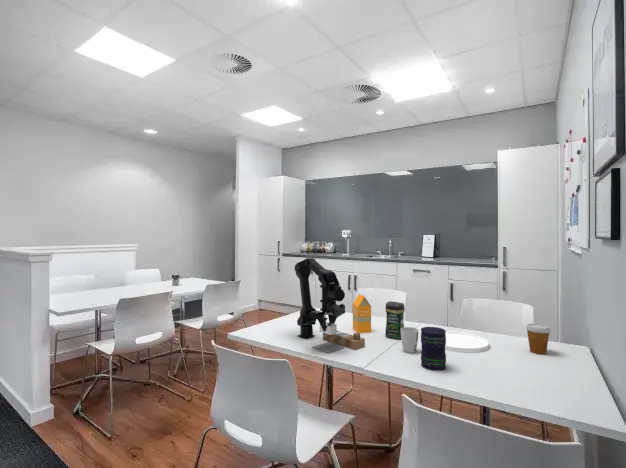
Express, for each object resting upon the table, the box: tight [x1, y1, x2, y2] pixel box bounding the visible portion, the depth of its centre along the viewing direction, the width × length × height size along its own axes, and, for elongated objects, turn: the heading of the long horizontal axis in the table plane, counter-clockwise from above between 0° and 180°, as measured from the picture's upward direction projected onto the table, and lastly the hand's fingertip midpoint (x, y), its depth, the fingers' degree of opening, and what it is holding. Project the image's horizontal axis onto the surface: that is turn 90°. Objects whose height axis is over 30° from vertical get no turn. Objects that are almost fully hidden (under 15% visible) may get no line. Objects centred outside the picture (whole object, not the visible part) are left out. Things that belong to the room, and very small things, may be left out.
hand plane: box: [322, 330, 366, 351], centre depth 176 cm, size 22×7×6 cm, turn 42°
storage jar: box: [420, 326, 447, 372], centre depth 145 cm, size 10×10×15 cm
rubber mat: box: [311, 341, 345, 354], centre depth 169 cm, size 11×11×1 cm
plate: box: [445, 330, 490, 354], centre depth 174 cm, size 28×28×2 cm
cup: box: [400, 326, 419, 354], centre depth 163 cm, size 8×8×10 cm
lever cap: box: [319, 321, 338, 335], centre depth 169 cm, size 7×4×5 cm, turn 42°
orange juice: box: [352, 293, 372, 334], centre depth 198 cm, size 8×9×20 cm
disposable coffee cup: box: [525, 323, 551, 355], centre depth 161 cm, size 10×10×12 cm
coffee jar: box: [384, 301, 405, 340], centre depth 185 cm, size 10×8×19 cm
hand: (327, 330), depth 169 cm, fingers closed on lever cap, 4 cm apart
